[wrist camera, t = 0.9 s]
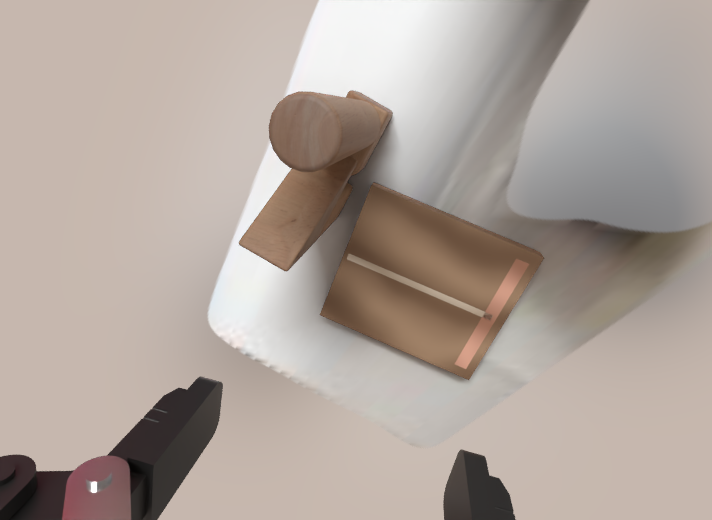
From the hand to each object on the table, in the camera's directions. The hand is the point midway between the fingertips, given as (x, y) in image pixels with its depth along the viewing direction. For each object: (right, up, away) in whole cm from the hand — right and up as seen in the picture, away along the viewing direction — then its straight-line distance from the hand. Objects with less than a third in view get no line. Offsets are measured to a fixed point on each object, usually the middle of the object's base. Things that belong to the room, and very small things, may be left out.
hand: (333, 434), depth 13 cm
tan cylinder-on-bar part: (0, +15, +23) cm, 28 cm away
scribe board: (+7, +4, +26) cm, 27 cm away
